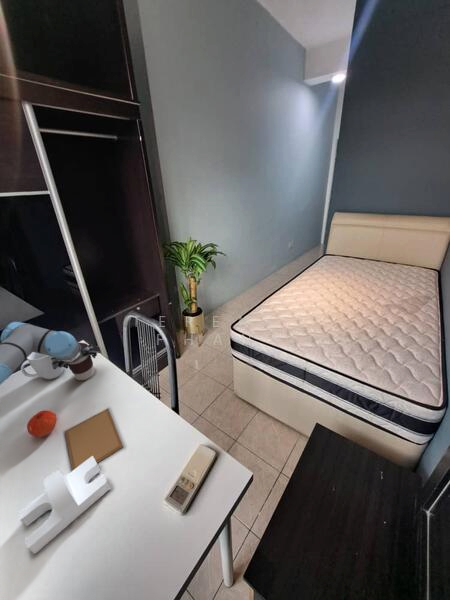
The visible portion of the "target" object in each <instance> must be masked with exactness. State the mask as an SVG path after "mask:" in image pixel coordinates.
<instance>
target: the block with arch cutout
mask: <svg viewBox="0 0 450 600" xmlns="http://www.w3.org/2000/svg"><path fill="white" fill-rule="evenodd" d="M101 471H102V470H101V468H100V467H99V463H96V461H95V459H94V457H93V456H91V457H90V458H89V459H87V460H86V461H85V462H83V463H82V464H81V465H79V466H78V467H77V468H75V469H74V470H72V471H70V472H69V473H67V474H65V472H64V471H63V469H61V468H60V467H59V468H57V469H56V470H55V471H54V472H52V473H51V474H50V475H48V476H47V477H45V478H44V479H43V481H42V482H43V487H44V490H45V491H43V492H42V493H41V494H39V495H38V496H37V497H35V498H34V499H33V500H31V501H30V502H28V503H27V504H26V505H24V506H23V507H21V509H19V511H18V517H19V520H20V521H21V523H23V524H24V525H25V526H26V527H29V525H31V524H32V523H33V522H35V521H36V520H37V519H38V518H39V517H41V516H42V515H44V514H45V513H46V512H48V511H50V510H51V512H50V514H49V516H48V518H47V519H46V520H45V521H44V522H43V523H42V524H40V525H39V527H37V528H36V529H35V530H33V531H32V532H31V533H30V534H29V535H27V536H26V537H25V538H24V543H25V547H26V548H27V549H28V550H29V551H30V552H31V553H32V554H34V555H36V554H37V553H38V552H40V551H41V550H42V549H43V548H44V547H45V546H47V545H48V544H49V543H50V542H51V541H52V540H54V538H56V537H57V536H58V535H59V534H60V533H61V532H62V531H64V530H65V529H66V528H67V527H68V526H69V525H70V524H71V523H72V522H74V521H75V520H76V519H78V518H79V517H80V516H81V515H82V514H83V513H84V512H85V511H87V509H89V508H90V507H91V506H92V505H93V504H94V503H95V502H97V501H98V500H99V499H100V498H101V497H102V496H104V495H105V494H106V493H108V491H109V490H111V486H110V485H109V483H108V481H107V479H106V477H105V475H104V474H103V473H101V474H100V475H99V476H98V477H96V478H95V479H94V480H93V481H91V479H93V478H94V477H95V476H97V474H99V473H100V472H101ZM90 481H91V482H90Z"/></svg>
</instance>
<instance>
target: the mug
mask: <svg viewBox="0 0 450 600" xmlns="http://www.w3.org/2000/svg"><path fill="white" fill-rule="evenodd" d="M52 357H53V356H49V355H45V354H40V353H35V352H32V353H31V354H30V355H29V356H28V357H27V358H26V360H24V361H23V362H22V363H21V366H20V371H21V373H22V375H24V377H27V378H37V377H41V378H43V379H46V380H54V379H56V378H58V377H60V376H61V375H62V374H63V373H64V369H65V368H64V367H60V368H59V367H57V368H56V369H53V366H52V360H51V358H52ZM26 365H30V366H31V368H32V369H33V370H34V372H35V373H29V372H27V371H26V370H25V366H26Z"/></svg>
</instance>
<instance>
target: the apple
mask: <svg viewBox="0 0 450 600" xmlns="http://www.w3.org/2000/svg"><path fill="white" fill-rule="evenodd" d="M57 422H58V417H57V415H56V413H55V412H53V411H52V410H41V411H39V412H37V413H36V414H34V415H33V416H32V417H31V418H30V419H29V420H28V422H27V425H26V430H27V433H28V434H29V435H30V436H33V437H38V438H39V437H45V436H47V435H49V434H50V433H51V432H52V431H53V430H54V429H55V427H56V424H57Z"/></svg>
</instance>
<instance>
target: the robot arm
mask: <svg viewBox="0 0 450 600" xmlns="http://www.w3.org/2000/svg"><path fill="white" fill-rule="evenodd" d="M78 342H79V341H77V340H76V338H75V337H74V335H72V334H71V333H69V332H67V331H63V330H60V331H56V330H52V329H48V328H44V327H40V326H37V325H34V324H31V323H25V322H21V321H12V322H10V323H9V324H7V325H6V327H5V328H4V329H3V330H2V332H1V335H0V386H1V385H2V384H3V383H4V382H6V380H8V379H9V378H10V377H11V376H12V375H13V373H14V372H15V371H16V370H17V369H18V368H19V367H20V365H22V364H23V363H24V362H25V361H26V360H27V357H28V356H29V355H30V354H31V353H32V352H35V353H40V354H45V355H49V356H53V357H52V358H51V360H52V366H53V369H56V368H57V367H59V368H60V367H64V369H70V368H69V366H68V365H67V363H75V362H77V361H78V360H80V359H81V357H84V356H88V355H91V358H93V359H96V357H97V356H98V354H100V353H101V352H102V351H101V348H100V346H99V345H98V346H97V345H93V344H92V343H90V344H88V346H87V348H84V347H82V346H81V345H80V344H79V343H78Z"/></svg>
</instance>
